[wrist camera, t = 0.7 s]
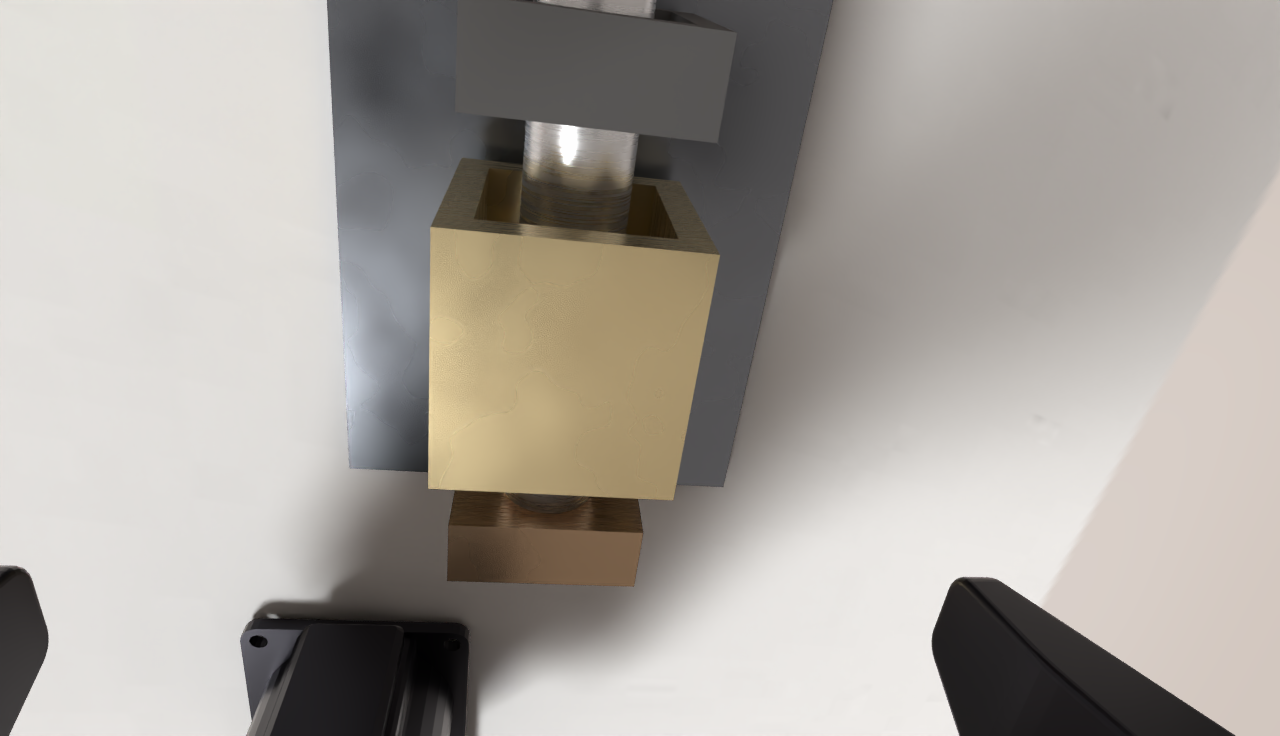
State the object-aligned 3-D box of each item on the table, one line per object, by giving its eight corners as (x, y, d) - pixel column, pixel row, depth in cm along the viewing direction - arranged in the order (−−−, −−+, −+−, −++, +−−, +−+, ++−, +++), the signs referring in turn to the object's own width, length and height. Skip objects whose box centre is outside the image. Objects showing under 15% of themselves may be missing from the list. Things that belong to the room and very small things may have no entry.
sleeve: (647, 383, 19) (673, 500, 15) (456, 370, 18) (427, 488, 14) (679, 181, 17) (720, 255, 13) (461, 157, 16) (430, 226, 12)
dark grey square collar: (680, 100, 16) (717, 143, 12) (478, 74, 15) (454, 112, 11) (693, 13, 15) (737, 32, 11) (481, -18, 14) (458, -7, 11)
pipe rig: (719, 476, 22) (761, 607, 18) (354, 457, 20) (299, 594, 16) (977, -688, 12) (1224, -1063, 7) (294, -892, 10) (104, -1507, 6)
